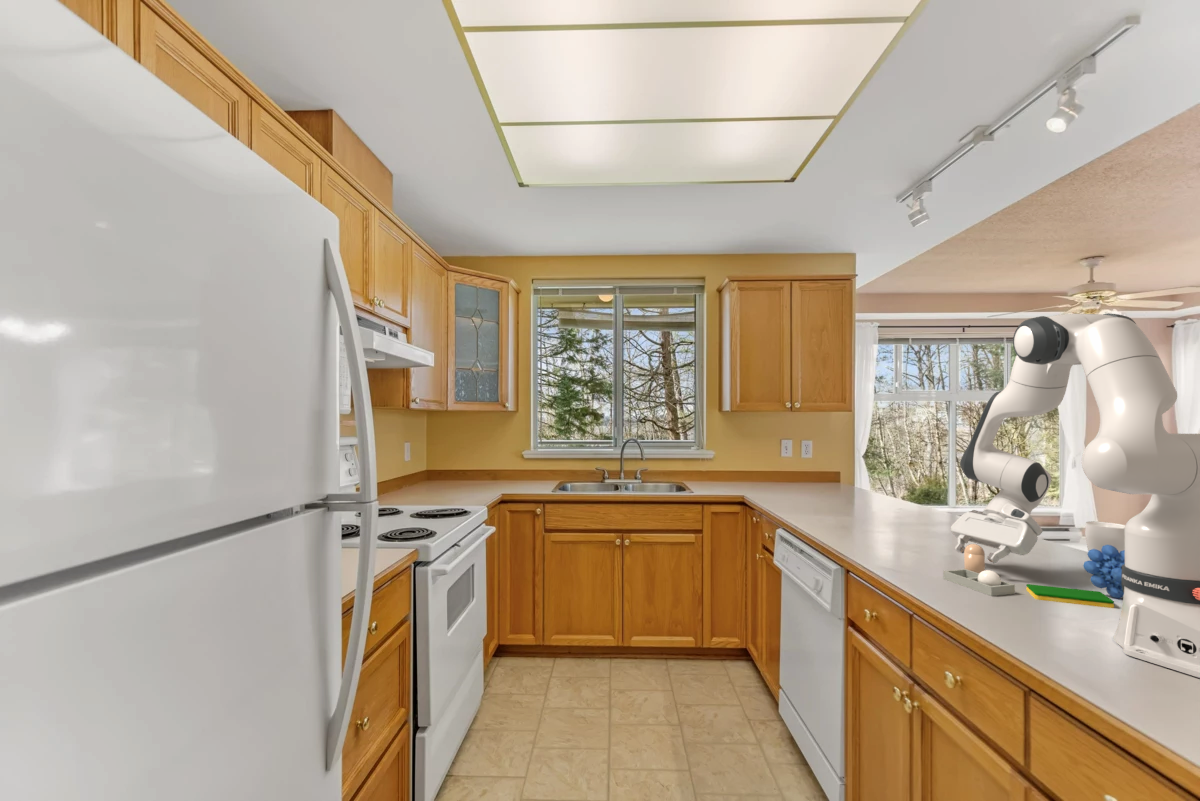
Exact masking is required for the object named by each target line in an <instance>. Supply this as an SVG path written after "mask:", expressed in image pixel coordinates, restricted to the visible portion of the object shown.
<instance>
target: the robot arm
mask: <svg viewBox="0 0 1200 801" xmlns="http://www.w3.org/2000/svg"><path fill="white" fill-rule="evenodd" d="M1012 345H1013V347H1012V348H1013V350H1014V353H1015V354H1016V356H1015V359H1014V362H1013V364H1012V367H1011V372H1010V374H1009V379H1008V381H1007V382H1008V383H1007V384H1006V386H1005V387H1004V389H1003V390H999V391H997V392H995V393H993V394H992V395H991V397H990V398H989V399H988V401H987V402H986V404H985V406H984V409H983V412H982V413H981V415H980V418H979V420H978V423H977V425H976V428H975V430H974V432H973V434H972V437H971V439H970V442H969V443H968V445H967V447H966V449H965V450H964V453H963V454H962V456H961V459H960V461H959V464H960V465H959V466H960V469H961V471H962V472H963V475H964V476H965V477H966V478H967V479H968V480H973V481H976V482H978V483H984V484H987V485H990V486H991V487H995V488H997V489H999V492H998V493H997V494H996V495H994V496H993V497H992V499H991V500H990V501H989V502H988V503H987V505H986V506H985V507H984V509H983V510H982V511H979V510H977V509H976V510H975V509H973V510H971V511H969V510H968V511H966V512H964V513H963V514H962V515H960V517H958V518H957V519H956V520H955V522H953V523H952V525H951V526H950V532H951V533H952V534H953V535H954V537H956V538H957V544H956V545H955V547H954V549H955V551H956V552H957V553H959V554H964V550H965V547H966V546H965V544H968V543H969V542H970V543H973V544H977V545H980V546H985V547H990V548H993V549H996V551H994V552H989V554H988V555H987V558H986V559H987V560H988V561H989V562H990V563H994V564H997V563H998V561H1000V560H1001V559H1003V558H1005V557H1007V556H1009V554H1010V553H1012V554H1015V555H1019V556H1025V555H1028V554H1030V552H1031V551H1032V550H1033V549H1034V547H1035V545H1036V544H1037V542H1038V538H1039V536H1040V535H1042V534H1043V529H1042V528H1041V526H1040V524H1039V523H1038V522H1037V520H1035V518H1033V516H1032V515H1031V514H1032V512H1033V510H1034V509H1036V508H1037V507H1038V506H1039V505H1040V503H1042V500H1044V498H1045V496H1046V494H1047V492H1048V490H1049V489H1050V486H1051V483H1052V476H1051V474H1050V472H1049V471H1048V470H1046V469H1045V468H1044V466H1042V464H1041V462H1037V461H1036V460H1033V459H1030V458H1027V457H1024V456H1021V455H1018V454H1013V453H1010V452H1007V451H1004V450H1002V449H999V448H997V447H995V446H994V440H995V438H996V437H997V434H998V432H999V429H1000V427H1001V426H1002V423H1003V421H1004V420H1005V419H1008V418H1018V417H1019V418H1020V417H1021V418H1022V417H1026V418H1027V417H1034V416H1040V415H1043V414H1046V413H1049V412H1052V411H1053V410H1055V409H1056V408H1058V407H1059V406H1060V405H1061V403H1062V401H1063V400H1064V397H1065V395H1066V392H1067V387H1068V383H1069V379H1070V374H1071V373H1070V372H1071V370H1072V367H1073V366H1075V365H1077V366H1078V365H1081V366H1082V369H1083V372H1084V374H1085V377H1086V380H1087V382H1088V384H1089V387H1090V389H1091V392H1092V395H1093V396H1094V397H1093V398H1094V400H1095V402H1096V405H1097V406H1096V407H1097V409H1098V414H1099V427H1098V432H1096V433H1097V434H1096V435H1095V437H1094V438H1093V439H1092V440H1091V441H1090V442H1089V443H1088V444H1087V445H1086V447H1085V448H1084V449H1083V453H1082V456H1081V468H1082V470H1083V472H1084V475H1085V476H1086V478H1087V479H1088V480H1089V481H1090V482H1091V483H1092V484H1093V485H1094V486H1096V487H1097V488H1100V489H1103V490H1107V491H1112V492H1118V493H1121V494H1128V495H1151V496H1150V500H1149V501H1148V503H1147V505H1146V506H1145V508H1143V509H1142V511H1140V512H1139V513H1138V514H1135V515H1134V516H1133V517H1131V518H1129V520H1128V521H1126V523H1125V524H1124V525H1125V529H1124V535H1125V564H1123V565H1122V574H1121V583H1122V589H1123V592H1124V595H1123V597H1122V598H1123V599H1122V606H1121V613H1120V617H1119V621H1118V624H1117V628H1116V631H1115V633H1114V635H1113V638H1112V639H1113V641H1114V642H1115V643H1116V644H1117V645H1119V646H1120V647H1122V650H1123V651H1122V652H1123V653H1124V654H1125V655H1126V656H1130V657H1132V658H1136V659H1139V660H1141V661H1145V662H1148V663H1151V664H1155V665H1158V666H1161V667H1164V668H1168V669H1171V670H1174V671H1177V672H1180V673H1183V674H1186V675H1189V676H1193V677H1195V678H1199V679H1200V433H1169V432H1168V431H1167V430H1166V429H1165V427H1164V423H1163V422H1164V421H1163V415H1164V414H1165V413H1167V412H1168V411H1169V410H1170V409H1171V408H1172V407H1173V406H1174V405H1175V404H1176V402H1177V400H1178V392H1177V389H1176V388H1175V386H1174V383H1173V382H1172V380H1171V377H1170V375H1169V373H1168V371H1167V369H1166V367H1165V366H1164V364H1163V361H1162V360H1161V357H1160V356H1159V354H1158V352H1157V350H1156V349H1155V347H1154V345H1153V344H1152V341H1151V340H1150V338H1148V336H1147V335H1146V334H1145V332H1143V329H1141V328H1140V327H1139V325H1138V324H1137V323H1136V321H1134V319H1133V318H1131V317H1129V316H1127V315H1124V314H1123V315H1122V314H1120V313H1119V314H1118V313H1109V312H1108V313H1104V314H1096V313H1066V314H1064V313H1063V314H1058V315H1049V316H1045V315H1041V316H1036V317H1031V318H1028V319H1026V320H1024V321H1021V323H1020V324H1019V325H1018V327H1017V328H1016V329H1015V331H1014V333H1013V338H1012Z"/></svg>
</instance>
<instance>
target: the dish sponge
mask: <svg viewBox="0 0 1200 801" xmlns="http://www.w3.org/2000/svg"><path fill="white" fill-rule="evenodd" d="M1025 587H1026V588H1025V589H1026V592H1028V593H1029V595H1030V596H1031V597H1033V598H1034V600H1036V601H1037V600H1039V601H1046V602H1047V601H1048V602H1054V603H1055V602H1056V603H1064V604H1074V605H1082V606H1091V607H1099V608H1100V607H1101V608H1106V609H1107V608H1108V609H1114V608H1115V604H1114V603H1115V601H1114V600H1113V599H1111V598H1110V597H1109V596H1107V595H1106V594H1105V593H1104V592H1102V591H1098V590H1087V589H1079V588H1078V589H1077V588H1067V587H1059V586H1049V585H1041V584H1032V583H1031V584H1029V583H1028V584H1026V586H1025Z"/></svg>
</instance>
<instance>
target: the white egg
mask: <svg viewBox="0 0 1200 801" xmlns="http://www.w3.org/2000/svg"><path fill="white" fill-rule="evenodd" d="M1001 581H1002V579H1001V577H1000V575H999V574H998V573H997V572H995V571H994V570H989V569H985V570H984V571H982V572H980V573H979V575H978V582H980V583H983V584H986V585H989V586H998V585H1001Z"/></svg>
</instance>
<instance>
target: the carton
mask: <svg viewBox="0 0 1200 801" xmlns="http://www.w3.org/2000/svg"><path fill="white" fill-rule="evenodd" d="M978 575H979V573H976V572H973V571H970V570H967V569H964V568H960V569H951V570H948V569H947V570H943V578H942V579H943V580H944V581H947V582H951V583H953V584H957V585H959V586H962V587H965V588H966V589H970V590H973V591H976V592H979V593H982V594H984V595H987V596H990V597H996V596H1005V595H1006V596H1007V595H1015V594H1016V592H1015V591H1016V589H1015V587H1016V586H1015V584H1013V583H1010V582H1006V581H1005V580H1001V585H998V586H989V585H986V584H983V583H980V582H978Z"/></svg>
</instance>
